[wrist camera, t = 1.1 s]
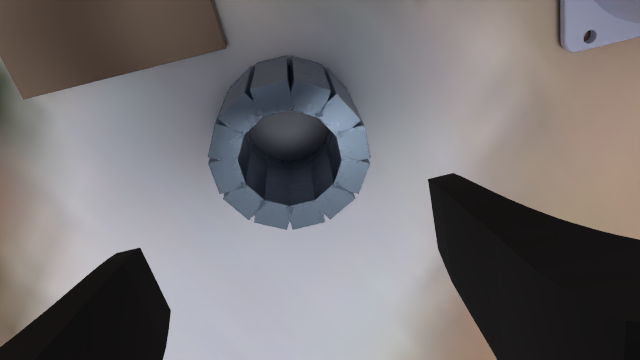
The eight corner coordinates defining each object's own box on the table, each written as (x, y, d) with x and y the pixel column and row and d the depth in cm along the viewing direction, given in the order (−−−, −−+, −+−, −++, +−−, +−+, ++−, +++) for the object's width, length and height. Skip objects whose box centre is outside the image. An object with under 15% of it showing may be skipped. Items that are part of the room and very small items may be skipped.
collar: (338, 42, 19) (351, 63, 15) (364, 165, 21) (380, 208, 18) (205, 75, 19) (186, 105, 15) (245, 193, 21) (237, 242, 18)
